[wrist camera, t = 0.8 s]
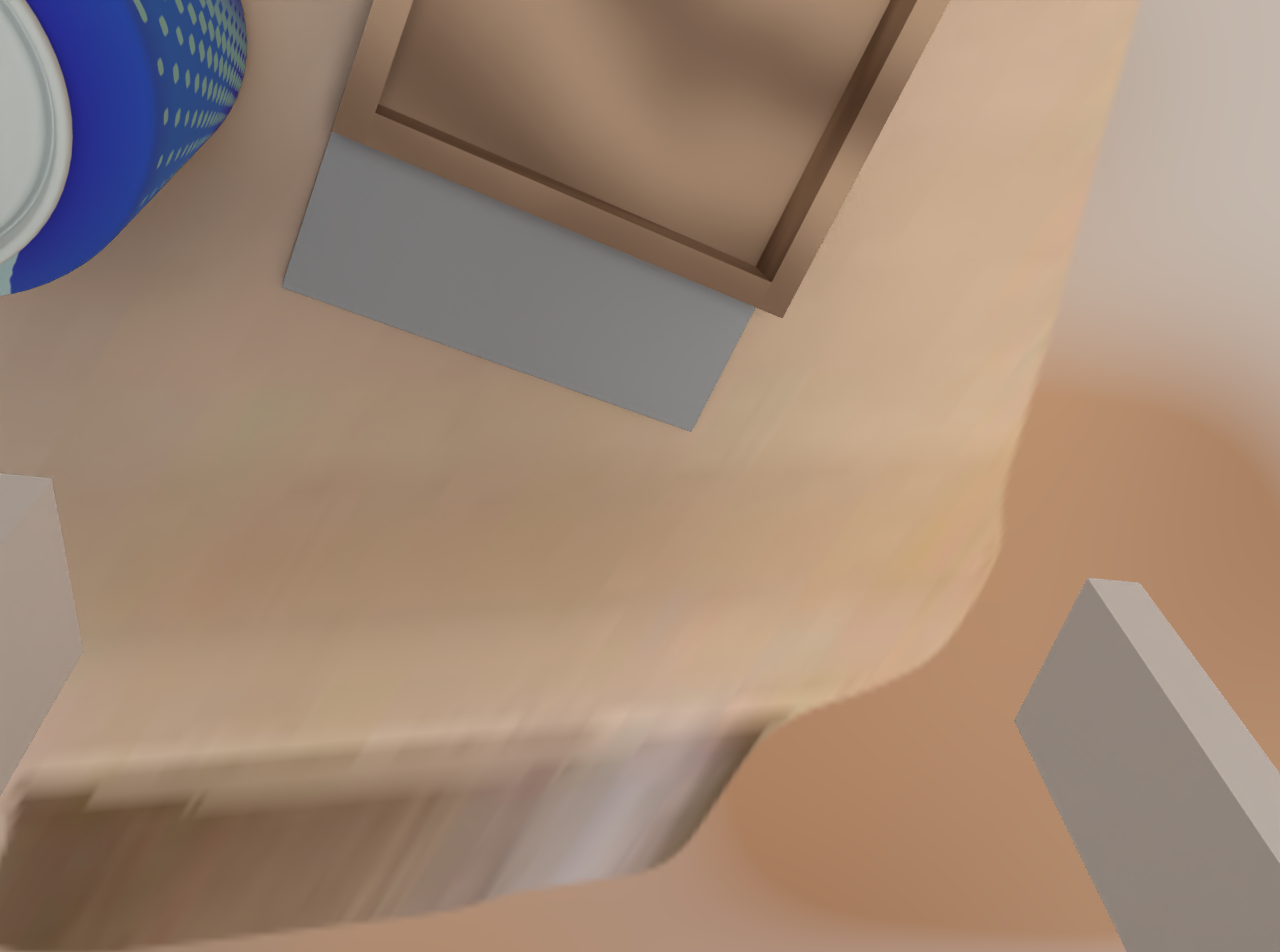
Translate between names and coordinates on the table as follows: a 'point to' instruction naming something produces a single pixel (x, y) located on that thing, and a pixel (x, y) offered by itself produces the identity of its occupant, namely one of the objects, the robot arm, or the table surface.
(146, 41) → the beer can
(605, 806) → the table surface
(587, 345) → the placemat
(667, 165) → the tray
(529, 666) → the table surface
